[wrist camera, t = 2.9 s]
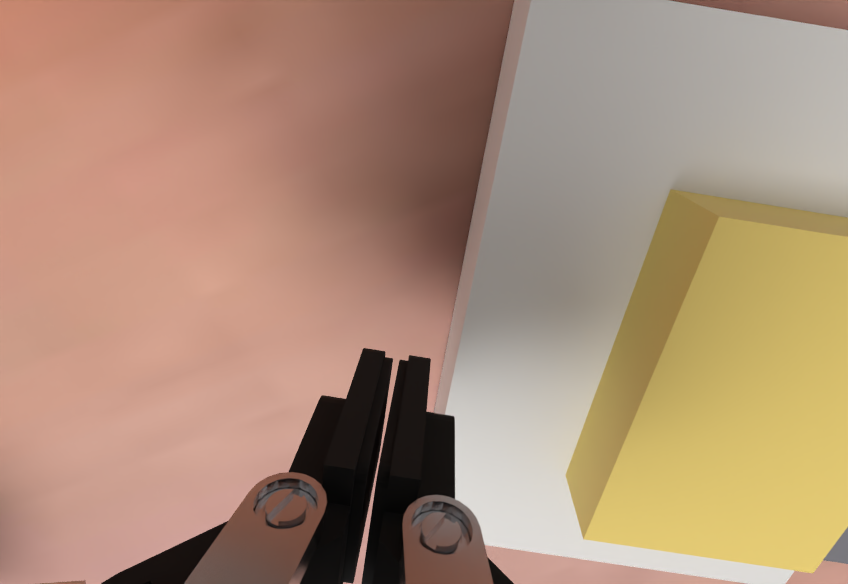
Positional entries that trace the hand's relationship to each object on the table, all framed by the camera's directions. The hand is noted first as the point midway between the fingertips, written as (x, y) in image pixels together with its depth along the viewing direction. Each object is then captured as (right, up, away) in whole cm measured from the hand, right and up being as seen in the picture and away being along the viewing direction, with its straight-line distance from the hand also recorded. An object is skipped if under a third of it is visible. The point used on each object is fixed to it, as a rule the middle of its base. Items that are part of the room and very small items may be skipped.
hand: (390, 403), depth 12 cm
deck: (+9, +2, +6) cm, 11 cm away
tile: (+10, 0, +3) cm, 10 cm away
